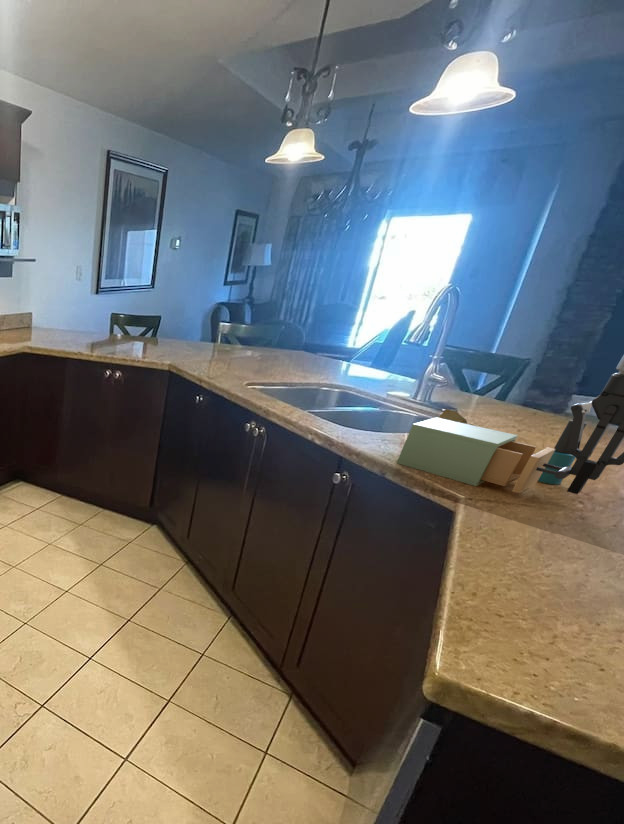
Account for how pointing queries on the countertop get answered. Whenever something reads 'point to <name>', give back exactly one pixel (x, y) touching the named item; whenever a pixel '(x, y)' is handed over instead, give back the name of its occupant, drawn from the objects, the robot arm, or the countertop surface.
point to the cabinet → (452, 449)
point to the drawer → (520, 466)
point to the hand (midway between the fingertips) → (573, 491)
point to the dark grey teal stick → (559, 456)
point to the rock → (452, 416)
